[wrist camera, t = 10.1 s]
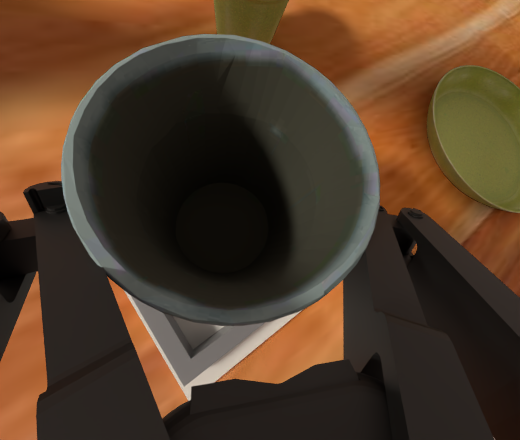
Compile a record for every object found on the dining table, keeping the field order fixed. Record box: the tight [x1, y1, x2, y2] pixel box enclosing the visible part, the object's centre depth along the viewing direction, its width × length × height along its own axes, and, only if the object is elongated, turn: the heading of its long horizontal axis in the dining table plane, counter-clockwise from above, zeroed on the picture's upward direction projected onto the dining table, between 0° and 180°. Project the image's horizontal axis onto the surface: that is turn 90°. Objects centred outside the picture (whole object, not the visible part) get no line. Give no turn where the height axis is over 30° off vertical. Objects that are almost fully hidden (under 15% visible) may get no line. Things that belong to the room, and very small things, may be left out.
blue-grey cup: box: [61, 34, 380, 326], centre depth 13 cm, size 10×10×12 cm
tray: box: [125, 291, 302, 401], centre depth 20 cm, size 20×18×3 cm
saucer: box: [427, 65, 520, 213], centre depth 30 cm, size 21×21×3 cm
